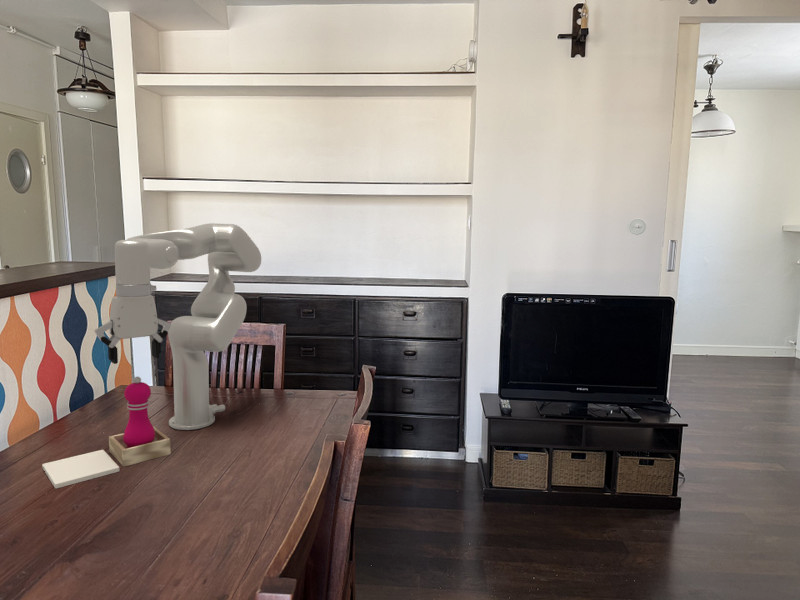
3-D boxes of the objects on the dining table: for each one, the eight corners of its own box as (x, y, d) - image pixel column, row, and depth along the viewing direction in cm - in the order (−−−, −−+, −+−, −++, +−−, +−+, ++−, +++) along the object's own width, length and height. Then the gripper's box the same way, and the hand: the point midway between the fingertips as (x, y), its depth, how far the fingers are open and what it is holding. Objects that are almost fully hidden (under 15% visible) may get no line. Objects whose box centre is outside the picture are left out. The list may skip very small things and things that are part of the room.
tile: (103, 453, 136) (102, 449, 135) (119, 471, 126) (119, 467, 126) (42, 468, 127) (42, 464, 126) (55, 488, 117) (55, 484, 117)
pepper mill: (143, 460, 132) (140, 382, 129) (117, 457, 134) (114, 379, 131) (161, 448, 139) (159, 374, 136) (136, 445, 141) (134, 371, 138)
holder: (154, 440, 144) (154, 426, 144) (170, 454, 136) (170, 439, 136) (109, 451, 137) (108, 436, 136) (123, 466, 129) (122, 450, 128)
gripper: (164, 287, 139) (165, 352, 141) (89, 291, 127) (92, 361, 129) (175, 290, 134) (176, 358, 136) (98, 294, 122) (101, 368, 124)
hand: (135, 359), depth 133 cm, fingers open, 9 cm apart
